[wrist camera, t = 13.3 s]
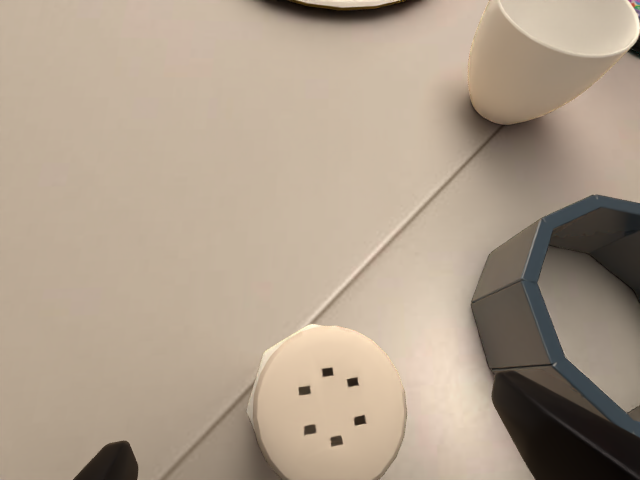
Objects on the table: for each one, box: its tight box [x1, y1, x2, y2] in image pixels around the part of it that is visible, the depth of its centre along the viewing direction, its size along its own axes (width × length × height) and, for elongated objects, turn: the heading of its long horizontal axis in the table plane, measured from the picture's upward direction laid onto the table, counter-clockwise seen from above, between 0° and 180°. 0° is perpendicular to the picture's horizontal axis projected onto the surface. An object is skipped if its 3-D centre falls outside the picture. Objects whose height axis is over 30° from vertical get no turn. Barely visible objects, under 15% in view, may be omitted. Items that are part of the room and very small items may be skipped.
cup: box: [468, 0, 640, 125], centre depth 21 cm, size 8×10×7 cm
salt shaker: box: [246, 324, 407, 480], centre depth 11 cm, size 5×5×11 cm
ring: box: [471, 195, 640, 437], centre depth 16 cm, size 10×11×4 cm
